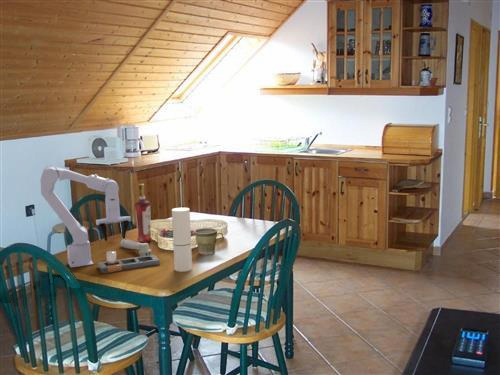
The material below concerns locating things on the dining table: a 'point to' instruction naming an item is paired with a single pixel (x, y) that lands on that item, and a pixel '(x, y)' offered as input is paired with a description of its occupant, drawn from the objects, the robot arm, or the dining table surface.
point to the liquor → (143, 217)
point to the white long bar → (136, 246)
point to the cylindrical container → (182, 239)
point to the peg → (111, 258)
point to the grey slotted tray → (129, 263)
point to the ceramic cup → (206, 240)
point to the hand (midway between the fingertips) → (114, 239)
